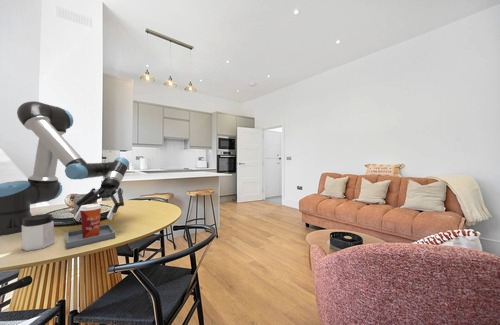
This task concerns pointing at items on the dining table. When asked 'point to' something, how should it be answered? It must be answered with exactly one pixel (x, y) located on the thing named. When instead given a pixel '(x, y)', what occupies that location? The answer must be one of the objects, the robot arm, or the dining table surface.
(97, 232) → the paper cup
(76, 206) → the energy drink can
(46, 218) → the jar
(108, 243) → the dining table surface
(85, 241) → the tray
